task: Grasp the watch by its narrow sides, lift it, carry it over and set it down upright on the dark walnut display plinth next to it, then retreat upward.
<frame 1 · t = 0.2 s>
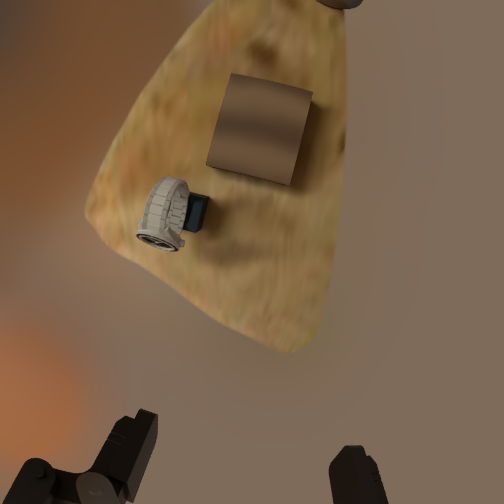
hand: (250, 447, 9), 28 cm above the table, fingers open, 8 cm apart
watch: (185, 208, 36), on the table
plinth: (260, 130, 33), on the table
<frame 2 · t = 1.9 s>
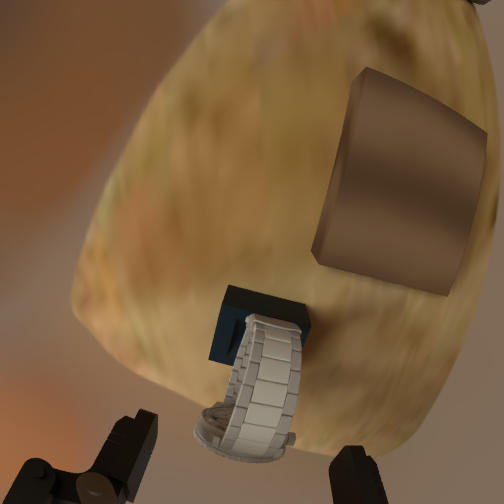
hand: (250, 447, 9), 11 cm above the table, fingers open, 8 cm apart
watch: (259, 321, 20), on the table
plinth: (400, 185, 17), on the table
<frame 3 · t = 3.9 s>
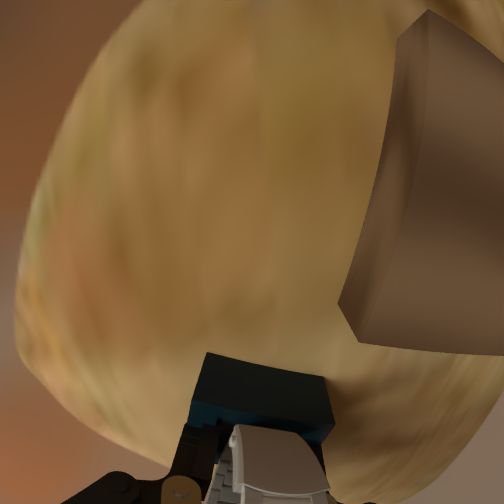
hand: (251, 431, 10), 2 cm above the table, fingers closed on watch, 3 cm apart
watch: (254, 397, 13), on the table, touching gripper
plinth: (468, 199, 9), on the table
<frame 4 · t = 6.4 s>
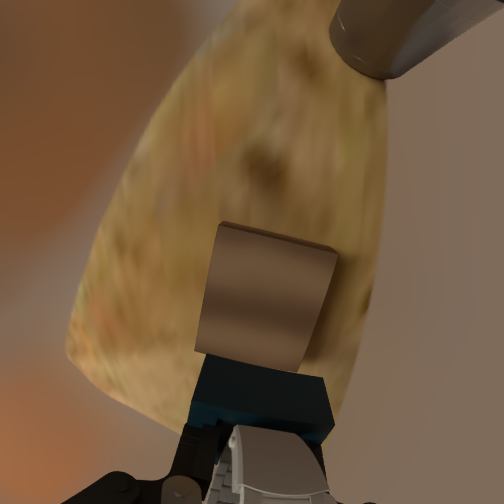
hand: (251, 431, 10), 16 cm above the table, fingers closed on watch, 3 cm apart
watch: (254, 397, 13), point 14 cm above the table, touching gripper
plinth: (261, 295, 26), on the table
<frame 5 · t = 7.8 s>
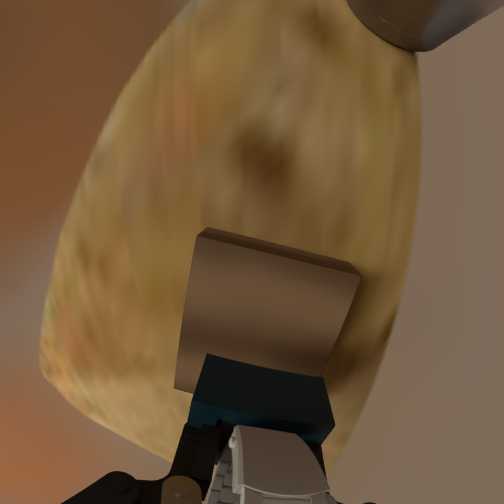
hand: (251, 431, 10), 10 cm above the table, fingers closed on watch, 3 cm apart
watch: (254, 397, 13), point 8 cm above the table, touching gripper
plinth: (258, 321, 20), on the table
when the fingers open (7 cm above the table, at t = 8.8 s): watch drops 1 cm, resting on plinth.
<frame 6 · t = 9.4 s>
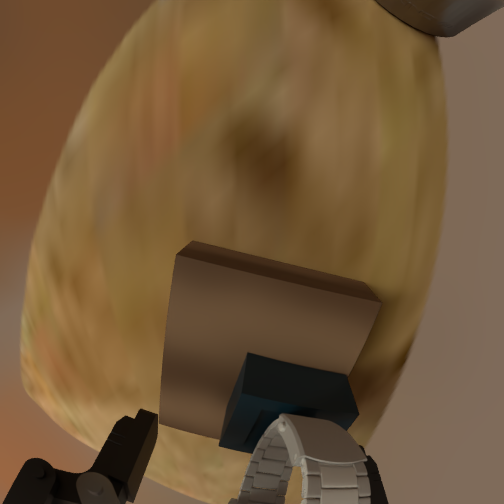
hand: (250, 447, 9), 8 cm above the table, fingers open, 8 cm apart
watch: (284, 392, 14), point 3 cm above the table, touching gripper, plinth
plinth: (255, 351, 17), on the table
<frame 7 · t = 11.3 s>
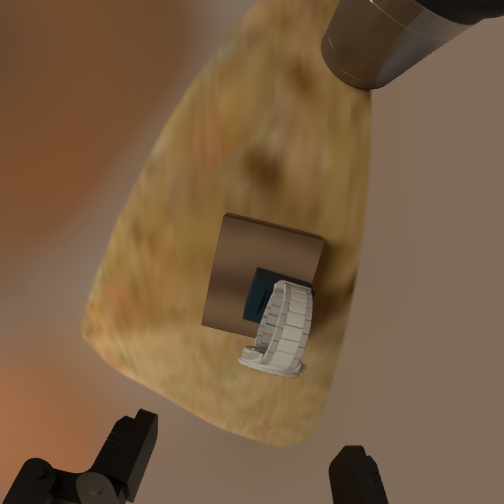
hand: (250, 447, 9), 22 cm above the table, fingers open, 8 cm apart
watch: (276, 294, 28), point 3 cm above the table, touching plinth
plinth: (260, 276, 31), on the table
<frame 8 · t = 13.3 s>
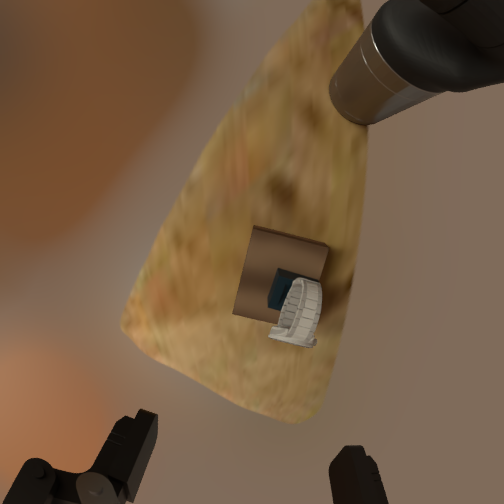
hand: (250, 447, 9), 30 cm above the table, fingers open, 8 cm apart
watch: (292, 288, 36), point 3 cm above the table, touching plinth
plinth: (278, 275, 39), on the table
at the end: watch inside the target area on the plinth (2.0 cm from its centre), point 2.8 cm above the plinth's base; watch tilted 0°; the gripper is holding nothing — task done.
